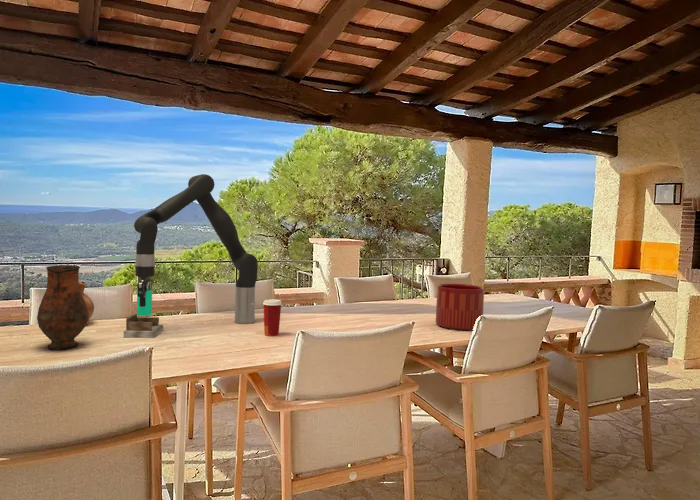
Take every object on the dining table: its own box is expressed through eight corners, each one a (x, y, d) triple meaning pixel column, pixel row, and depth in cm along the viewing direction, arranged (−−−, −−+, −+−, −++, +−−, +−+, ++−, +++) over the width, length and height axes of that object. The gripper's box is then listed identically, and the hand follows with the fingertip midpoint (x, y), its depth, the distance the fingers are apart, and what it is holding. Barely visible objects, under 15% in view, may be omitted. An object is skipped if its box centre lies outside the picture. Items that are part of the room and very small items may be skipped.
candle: (139, 312, 213) (139, 284, 212) (153, 313, 213) (154, 285, 213) (134, 315, 207) (134, 286, 206) (149, 315, 207) (149, 287, 207)
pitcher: (29, 353, 176) (29, 268, 174) (48, 339, 196) (49, 262, 194) (82, 351, 180) (82, 269, 178) (95, 337, 201) (95, 263, 199)
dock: (163, 330, 218) (163, 313, 218) (154, 337, 204) (154, 319, 204) (134, 329, 217) (134, 312, 216) (123, 337, 203) (123, 319, 203)
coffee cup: (284, 333, 220) (285, 300, 219) (275, 337, 212) (276, 302, 211) (267, 331, 223) (268, 298, 222) (258, 335, 215) (259, 301, 214)
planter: (463, 333, 235) (466, 290, 233) (426, 324, 252) (427, 284, 251) (491, 328, 250) (493, 287, 249) (454, 320, 267) (455, 282, 266)
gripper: (149, 266, 202) (149, 308, 203) (159, 263, 216) (158, 302, 217) (130, 266, 201) (129, 308, 202) (141, 263, 216) (140, 302, 217)
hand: (144, 305), depth 210 cm, fingers closed on candle, 5 cm apart
